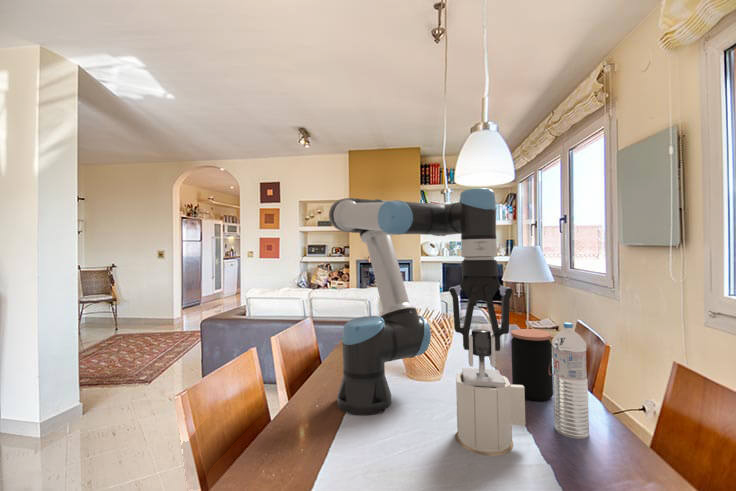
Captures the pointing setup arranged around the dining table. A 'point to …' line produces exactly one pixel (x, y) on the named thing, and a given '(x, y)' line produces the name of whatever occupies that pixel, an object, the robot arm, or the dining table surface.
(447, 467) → the dining table surface
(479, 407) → the press carafe
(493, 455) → the cork trivet
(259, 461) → the dining table surface
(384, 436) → the dining table surface
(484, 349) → the plunger
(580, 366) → the water bottle
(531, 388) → the coffee jar
